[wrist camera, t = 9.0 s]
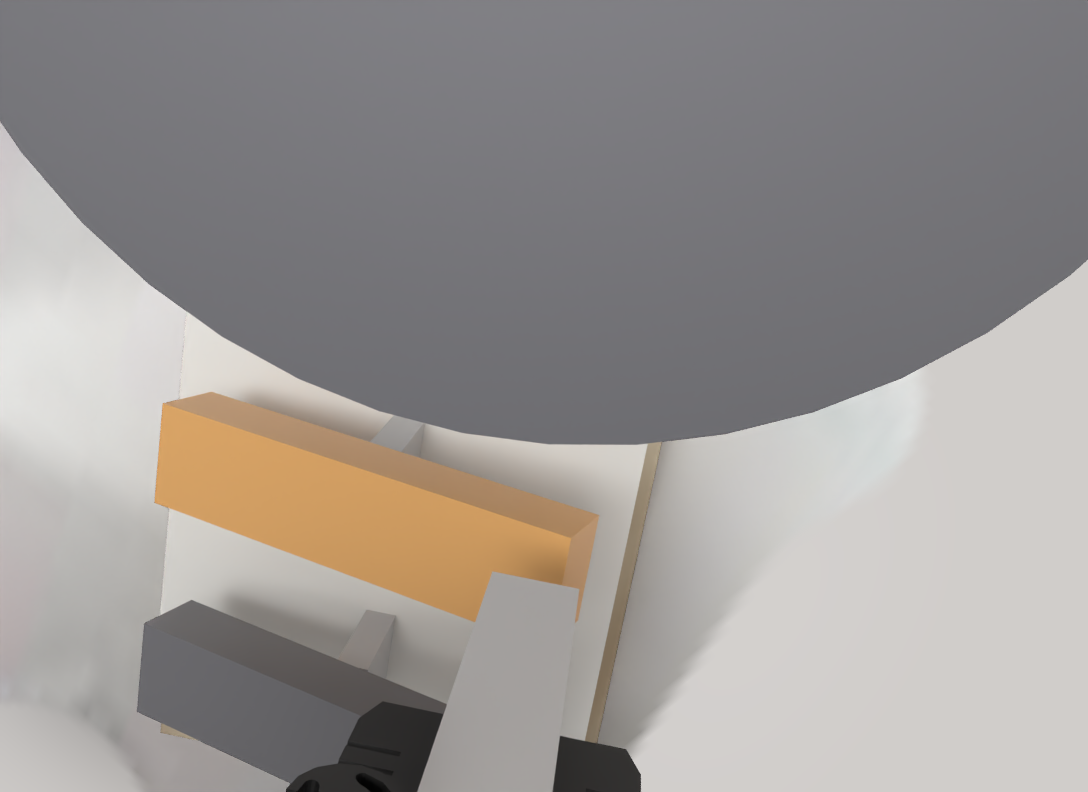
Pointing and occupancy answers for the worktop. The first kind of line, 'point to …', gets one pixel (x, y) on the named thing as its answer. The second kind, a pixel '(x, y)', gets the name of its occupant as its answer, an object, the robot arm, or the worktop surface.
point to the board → (619, 602)
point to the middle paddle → (363, 505)
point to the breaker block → (366, 609)
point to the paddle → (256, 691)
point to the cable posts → (571, 191)
